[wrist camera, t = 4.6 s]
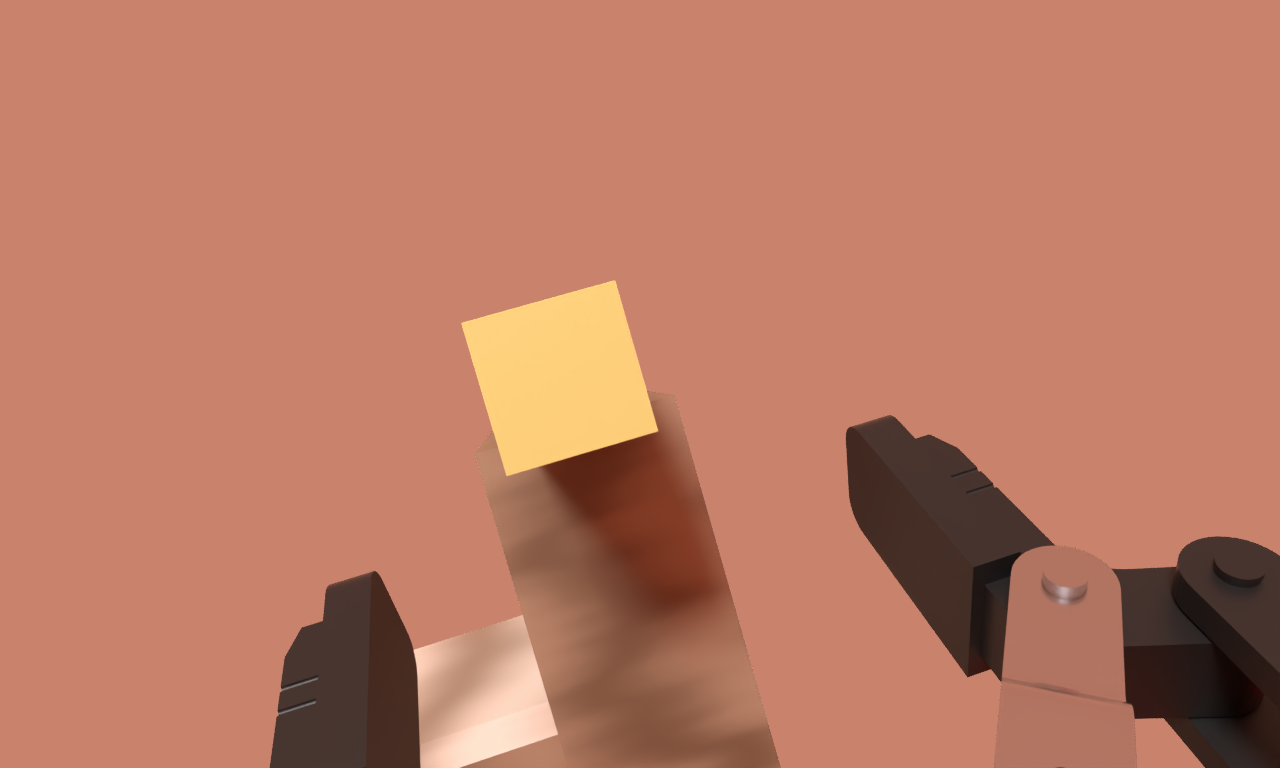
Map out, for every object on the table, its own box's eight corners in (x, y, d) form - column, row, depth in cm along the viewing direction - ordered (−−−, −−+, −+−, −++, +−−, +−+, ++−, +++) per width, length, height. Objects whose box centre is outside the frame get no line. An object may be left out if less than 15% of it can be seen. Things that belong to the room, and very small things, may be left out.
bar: (455, 491, 16) (393, 285, 16) (507, 427, 34) (479, 330, 34) (707, 416, 16) (650, 215, 16) (628, 391, 34) (600, 296, 34)
